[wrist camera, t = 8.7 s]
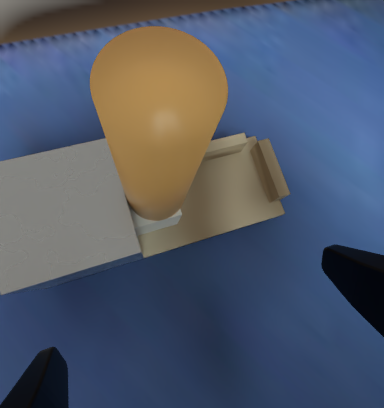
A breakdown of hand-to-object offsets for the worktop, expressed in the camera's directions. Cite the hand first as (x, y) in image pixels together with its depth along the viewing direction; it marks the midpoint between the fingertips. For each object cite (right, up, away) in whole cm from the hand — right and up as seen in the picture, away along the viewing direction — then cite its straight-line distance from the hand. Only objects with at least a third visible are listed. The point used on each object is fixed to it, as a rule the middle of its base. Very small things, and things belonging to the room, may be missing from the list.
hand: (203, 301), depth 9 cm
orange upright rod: (-5, +2, +9) cm, 11 cm away
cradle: (0, +4, +11) cm, 12 cm away
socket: (-7, +2, +10) cm, 12 cm away
